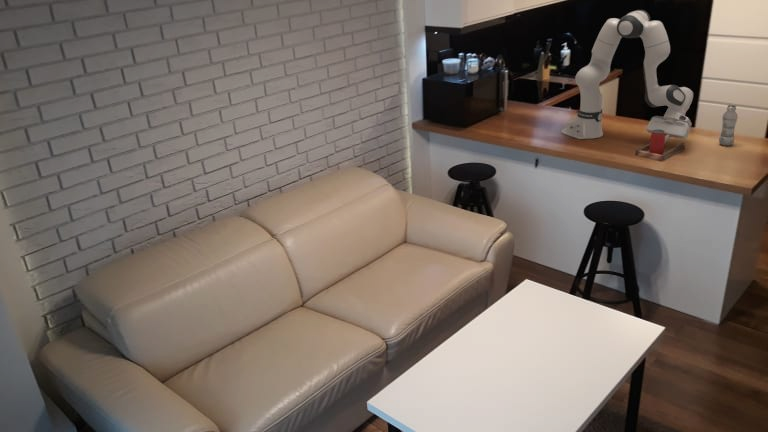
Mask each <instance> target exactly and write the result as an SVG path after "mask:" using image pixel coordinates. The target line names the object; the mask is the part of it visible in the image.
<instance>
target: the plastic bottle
mask: <svg viewBox="0 0 768 432" xmlns="http://www.w3.org/2000/svg"><path fill="white" fill-rule="evenodd" d="M736 110H737V105H735V104H729V105H727V108H726V111H724V113H723V115H722V128H721V131H720V135H719V137H718V143H719V144H720V145H721V146H732V145H733V144H734V142H735V127H736V125H737V120H738V113H737V112H736Z"/></svg>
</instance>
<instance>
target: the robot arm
mask: <svg viewBox="0 0 768 432" xmlns="http://www.w3.org/2000/svg"><path fill="white" fill-rule="evenodd" d="M622 38H626V39H633V38H634V39H638V38H641V40H642V43H643V47H644V52H645V53H644V59H643V62H642V72H643V79H644V80H643V81H644V86H645V87H644V89H645V91H644V100H645V102H646V104H647V106H649V107H650V108H658V107H661V106H664V107H665V106H667V107H668V108H667V109H666V112H665V113H664V115H663V116H659V115H655V116H652V117H651V118H650V121H649V123H648V124H647V125H646V127H645V128H646V131H647V133H649V134H651V133H652V131H653V130H657V129H658V130H664V131H665V143H664V145H665V144H666V142H667V141H669V140H670V139H671V138H675V139H680V140H686V139H688V138H689V137H688V136H689V134H690V132H691V127H692V122H691V119H690V118H689V117H687V116H686V113H687V111H688V110H689V109H690V106H691V104H692V102H693V99H694V92H693V90H691V88H688V87H686V86H681V87H679V86H678V85H676V84H669V85H662V86H661V85H659V83H658V78H657V77H658V76H657V74H658V73H657V68H658V66H659V65H660V64H661V63H663V62H664V61H665V60H667V58H668V57H669V55H670V53H671V44H670V40H669V36H668V33H667V30H666V29H665V26H664V23H663V22H662V21H661V20H651V16H650V14H649V13H648V12H647V11H646V10H644V9H636V10H634V11H630V12H628V13H627V14H626V15H624V16H622V17H621V18H616V17H615V18H614V17H613V18H612V17H611V18H608V19H607V20H606V22H604V24H603V26H602V27H601V29H600V31H599V33H598V35H597V37H596V39H595V41H594V44H593V47H592V49H591V58H590V62H589V63H588V64H587V65H585V66H584V67H582V68H581V69H579V71H577V73H576V75H575V77H574V78H575V84H576V85H577V86H578V89H579V92H580V94H579V95H580V106H579V107H580V108H579V109H577V110H576V111H575V114H576V115H575V116H574V117H572V118H571V119H569V120H568V121H567V122H566V125H565V128H563V129H562V130H561V134H564V135H566V136H569V137H572V138H575V139H578V140H586V139H597V138H601V137H603V135H604V133H603V126H602V119H603V109H602V108H603V107H602V106H603V93H602V92H601V89H600V83H601V82H603V81H605V80H606V79H607V77H608V76H609V75H610V72H611V64H612V61H613V58H614V56H615V53H616V50H617V49H618V46H619V44H620V41H621V39H622Z"/></svg>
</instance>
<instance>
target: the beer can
mask: <svg viewBox="0 0 768 432" xmlns="http://www.w3.org/2000/svg"><path fill="white" fill-rule="evenodd" d="M665 138H666V136H665V131H664V130H658V129H657V130H653V131H652V133H650V141H649V143H650V148H649V150H648V152H650V153H655V154H659V155H662V154H664V153H665V152H664V149H665V144H666V142H665ZM664 143H665V144H664Z"/></svg>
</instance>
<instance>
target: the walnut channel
mask: <svg viewBox="0 0 768 432" xmlns="http://www.w3.org/2000/svg"><path fill="white" fill-rule="evenodd" d="M685 145H686V144H685V143H680V144H677V145H676V146H675V147H672V148H671V149H669V150H668V151H666V152H663V154H662V155H659V154H655V153H650V152H649V148H650V142H649V143H647V144H645V145H643V146H641V147H640V148H638V149H636V150H635V156H637V157H642V158H646V159H650V160H655V161H659V162H664V161H666V160H667V159H669V158H670V157H672V156H674V155H676V154H678V153H679V152H681V151H683V150H684V149H685Z"/></svg>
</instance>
